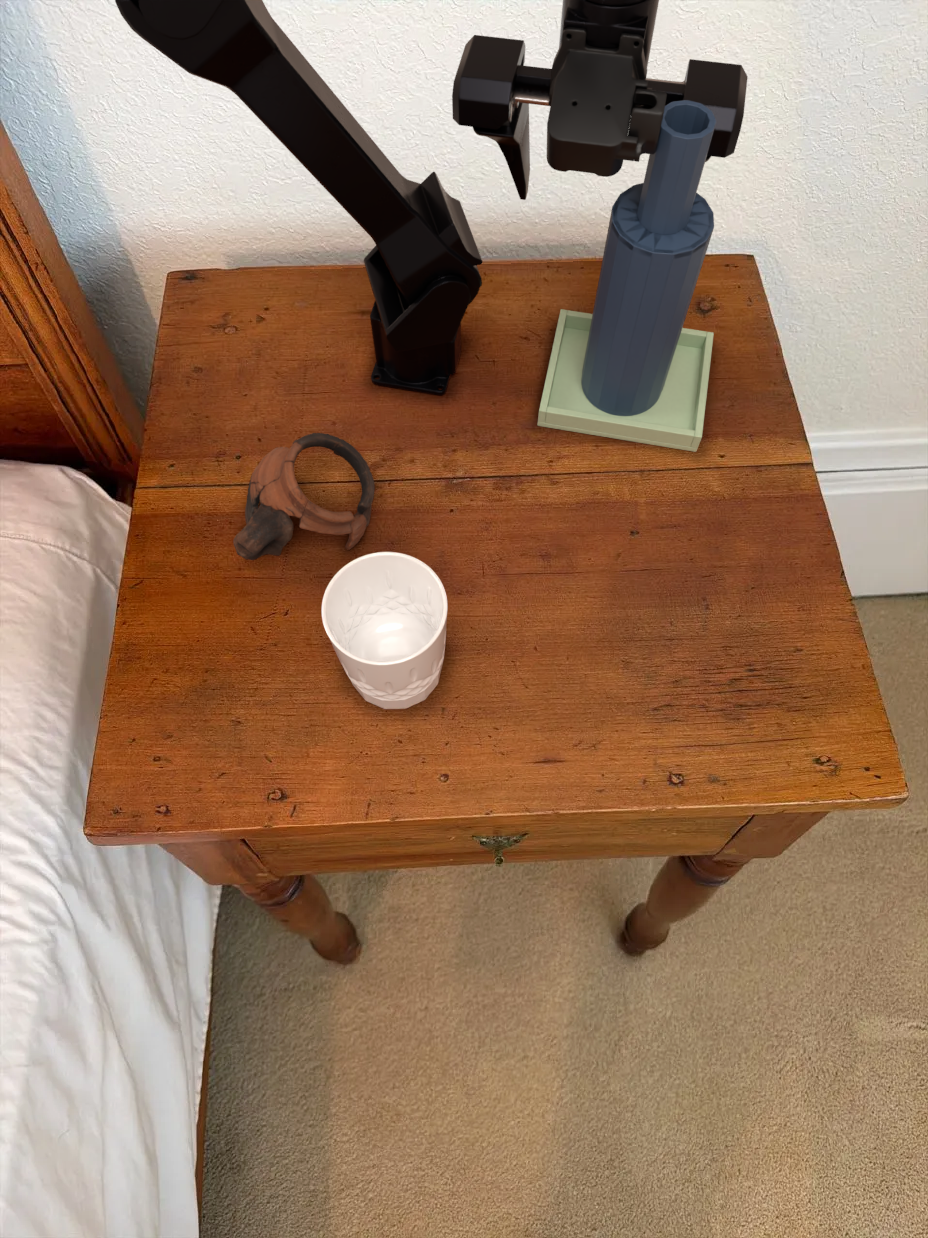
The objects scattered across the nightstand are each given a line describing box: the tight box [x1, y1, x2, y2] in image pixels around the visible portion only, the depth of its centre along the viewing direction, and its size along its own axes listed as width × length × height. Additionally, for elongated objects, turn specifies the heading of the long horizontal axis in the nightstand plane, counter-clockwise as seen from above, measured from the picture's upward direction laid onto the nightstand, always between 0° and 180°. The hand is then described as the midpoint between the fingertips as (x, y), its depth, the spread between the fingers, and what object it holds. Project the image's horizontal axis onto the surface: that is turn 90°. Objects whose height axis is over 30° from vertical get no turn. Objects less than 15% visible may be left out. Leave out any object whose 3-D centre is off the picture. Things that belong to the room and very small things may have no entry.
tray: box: [536, 308, 715, 453], centre depth 74 cm, size 13×11×2 cm
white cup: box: [320, 551, 449, 710], centre depth 60 cm, size 8×8×10 cm
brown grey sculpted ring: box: [232, 432, 376, 561], centre depth 67 cm, size 12×10×8 cm
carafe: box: [581, 100, 716, 416], centre depth 64 cm, size 7×7×24 cm
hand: (584, 203), depth 66 cm, fingers open, 9 cm apart
